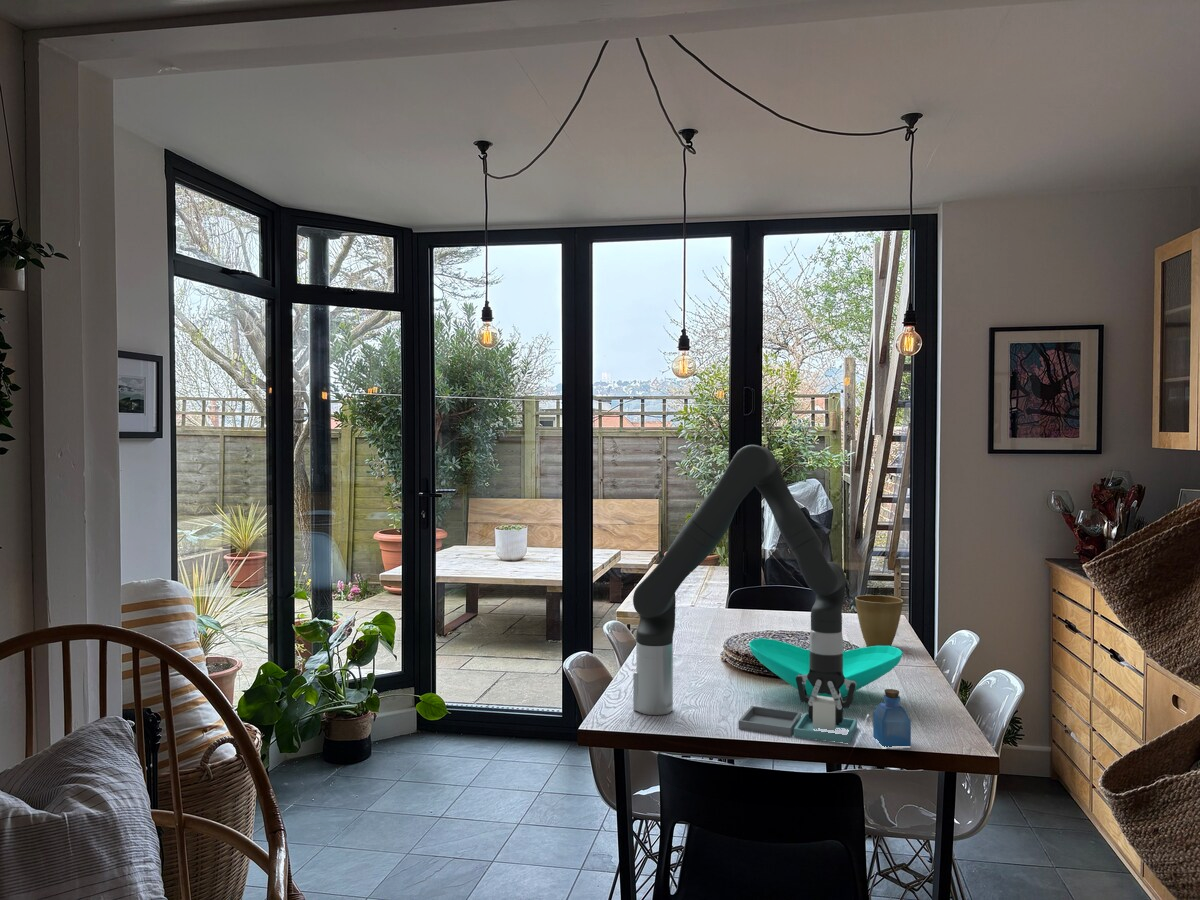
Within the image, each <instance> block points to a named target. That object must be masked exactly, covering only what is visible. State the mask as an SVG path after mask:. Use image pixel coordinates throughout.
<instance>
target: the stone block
mask: <svg viewBox="0 0 1200 900" xmlns="http://www.w3.org/2000/svg"><path fill="white" fill-rule="evenodd" d="M836 709H837V706H836V703H835V701H834V700H833V697H825V696H817V698H816V699H815V700H814V701H813V728H820V729H827V730H834V731H835V729H836V728H837V726H838V725H836Z"/></svg>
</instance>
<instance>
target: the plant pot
mask: <svg viewBox="0 0 1200 900" xmlns="http://www.w3.org/2000/svg"><path fill="white" fill-rule="evenodd" d="M854 601H855V607H856V612H857V618H858V622H859V627H860V631H861V634H862V638H863V640H864V643H865V647H871V646H893V642H894V640H895V637H896V634H897V630H898V627H899V625H900V621H901V620H900V619H901V614H902V611H903V606H904V605H903V603H904V600H903V599H901V598H899V597H895V596H890V595H889V596H888V595H877V594H875V595H874V594H872V595H871V594H869V595H868V594H866V595H857V596H855V598H854Z"/></svg>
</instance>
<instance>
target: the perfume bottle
mask: <svg viewBox="0 0 1200 900" xmlns="http://www.w3.org/2000/svg"><path fill="white" fill-rule="evenodd" d="M899 694H900V690H898V689H894V688H886V689H884V694H883V702H879V704H878V705H877V706H876V708H875V709H874V710H873V711H872V712H873V713H872V714H873V716H872V719H873V720H872V723H873V724H872V727H873V729H872V730H873V731H872V738H873V737H874V738H875V739H877V740H878V741H879V743H880V744H881V745H882V746H884V747H885V746H886V747H888V746H889V747H892V746H911V745H912V735H911V733H912V721H911V719H910V717H909V715H908V713H907V711H906V710H905V708H904V707H903V706H902V705H900V702H901V696H900V695H899Z"/></svg>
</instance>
